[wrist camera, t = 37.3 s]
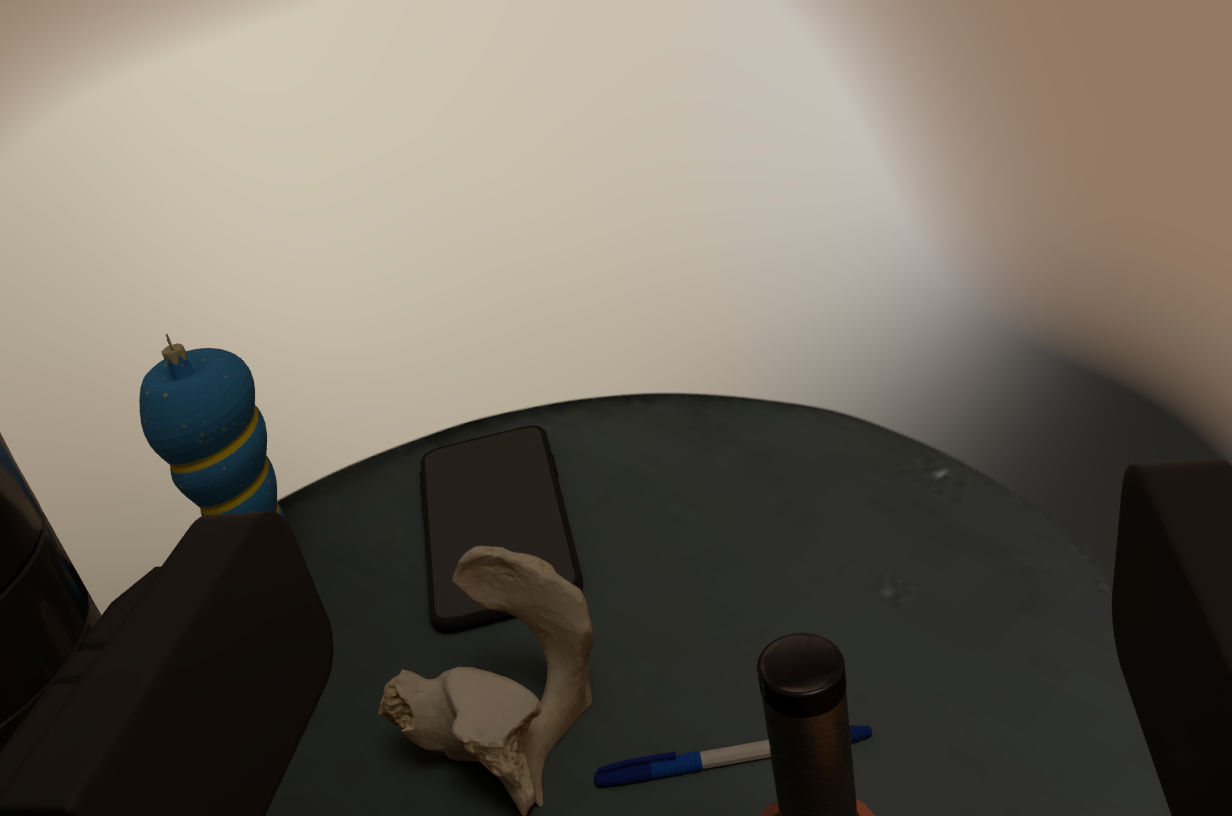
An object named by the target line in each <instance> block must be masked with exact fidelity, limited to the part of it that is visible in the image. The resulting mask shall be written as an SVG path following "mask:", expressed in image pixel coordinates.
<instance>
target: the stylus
mask: <svg viewBox="0 0 1232 816" xmlns="http://www.w3.org/2000/svg"><path fill="white" fill-rule="evenodd" d="M757 672H758V678H759V685H760V691H761V695H762V700H763V706H764V713H765V720H766V727H767V733H768V740H769V747H770V753H771V760H772V767H773V774H774V780H775V787H776V794H777V801H778V807H779V814H780V816H858V814H857V803H856V793H855V782H854V771H853V760H852V749H851V738H850V727H849V717H848V706H847V695H846V675H845V664H844V658H843V655H842V653H841V652H840V650H839V649H838V648H837V647H836V645H835V644H833V643H832V642H831V641H829V640H828V639H826V638H824V637H821V636H818V635H814V634H808V633H796V634H789V635H785V636H782V637H780V638H778V639H776V640H774V641H772V642H771V643H770V644H768V645H767V646H766V647H765V648H764V649H763V651H762V652H761V654H760V656H759V659H758V662H757Z"/></svg>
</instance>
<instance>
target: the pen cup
mask: <svg viewBox="0 0 1232 816" xmlns="http://www.w3.org/2000/svg"><path fill="white" fill-rule="evenodd" d="M856 803H857V814H858V816H875V815H874V814H873V813H872V812H871V811H870V810H869V809H868V807H867V806H866V805H865V804H864V803H863V802H861V801H859V800H857V799H856ZM761 816H780V814H779V807H778V801H777V802H775V803H773V804H771V805H769V806H768V807H766V809H764V811H763V813H762V814H761Z"/></svg>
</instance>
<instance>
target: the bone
mask: <svg viewBox="0 0 1232 816" xmlns="http://www.w3.org/2000/svg"><path fill="white" fill-rule="evenodd" d="M452 581H453V582H454V583H455V584H456V585H457V586H458V587H459V588H460V589H461V590H462V592H463V593H464V594H465V595H466V596H467V597H468V598H469V600H471V601H472V602H474V603H476V604H477V605H479V606H481V607H485V608H489V609H492V610H497V611H504V612H507V613H509V614H511V615H513V616H515V617H517V618H519V619H520V620H522V621H523V622H524V623H525V624H526V625H527V626H528V627H529V628H530V630H531V631H532V632H533V633H534V634H535V636H536V637H537V639H538V640H539V642H540V644H541V646H542V648H543V651H544V654H545V657H546V661H547V680H546V685H545V690H544V694H543V696H542V699H541V702H540V701H539V700H538V698H537V697H536V696H535V695H534V694H533V693H532V692H530V691H529V690H528V689H526V688H525V687H524V686H522V685H520V684H519V683H517V682H515V681H513V680H511V679H509V678H507V677H504V676H500V675H497V674H495V673H492V672H489V671H485V670H480V669H476V668H473V667H457V668H454V669H451V670H448V671H445V672H443V673H442V674H441V675H440V676H439V677H437V678H436V679H431V680H428V679H425V678H423V677H421V676H419V675H417V674H415V673H413V672H411V671H407V670H403V669H402V670H401V673H400V674H399V675H398V676H397V677H395V678H392V679H391V681H390V682H389V683H388V684H386V685H385V688H384V696H383V698H382V701H381V703H380V710H379V713H378V714H379V715H380V716H384V717H385V719H386V720H387V721H389V722H391V723H392V724H394V725H397V726H399V727H400V728H401V729H402V731H401V732H402V733H403V734H404V735H405V736H406V737H407V738H408V739H409V740H410V741H412V742H413V743H415V744H417V745H418V746H420V747H422V748H425V749H427V750H429V751H441V752H445V754H446V755H447V757H448V758H449V759H452V760H456V761H479V762H481V763H482V764H483V765H484V766H485V767H486V768H487V769H488V770H490V771H491V772H492V773H493V774H494V775H495V776H497V777H498V778H499V779H500V780H501V781H502V783H503V785H504V786H505V788H506V789H507V791H508V793H509V794H510V796H511V797H512V799H513V801H514V802H515V804H516V805H517V807H518V809H519V811H520V812H521V814H522V816H526V815H527V813H528V811H529V809H530V807H531V806H533V804H534V803H535V802H536V803H537V804H538V805H539V807H540V806H543V795H542V786H541V779H542V770H543V766H544V762H545V760H546V758H547V756H548V755H549V753H550V751H551V750H552V749H553V747H554V746H555V745H556V744H557V742H558V741H559V740H560V739H561V738H562V737H563V735H564V734H565V733H566V732H567V731H568V730H569V728H570V727H571V726H572V725H573V724H574V722H575V721H576V720H577V719H578V718H579V716H580V715H581V714H582V713H583V712H584V711H585V710H587V709H588V708H589V707H590V706H591V704H592V697H591V689H590V684H589V679H588V677H589V668H588V662H589V654H590V651H591V648H592V645H593V639H594V637H593V630H592V625H591V621H590V617H589V612H588V605H587V602H586V600H585V598H584V595H583V593H582V591H581V589H579V588H578V587H576V586H575V585H573V584H571V583H570V582H568V581H567V580H565V579H564V578H563V577H561V576H560V575H559V574H557V573H556V571H555V570H554V568H553V567H552V565H550V564H549V563H547V562H546V561H544V560H542V559H540V558H538V557H535V556H532V555H528V554H524V553H515V552H511V551H509V550H507V549H505V548H503V547H488V546H475V547H473V548H472V549H470V550H469V551H468V552H466V553H465V554H464V555H463V556H462V558H461V559H460V560H459V561H458V565H457V568H456V570H455V572H454V575H453V579H452Z"/></svg>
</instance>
